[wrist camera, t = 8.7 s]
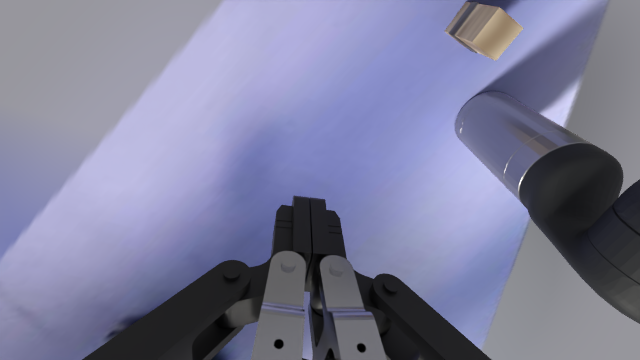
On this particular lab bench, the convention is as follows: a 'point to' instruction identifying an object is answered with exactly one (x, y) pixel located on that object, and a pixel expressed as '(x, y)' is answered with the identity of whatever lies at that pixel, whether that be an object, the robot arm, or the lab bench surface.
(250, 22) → the lab bench surface
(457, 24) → the banded post
